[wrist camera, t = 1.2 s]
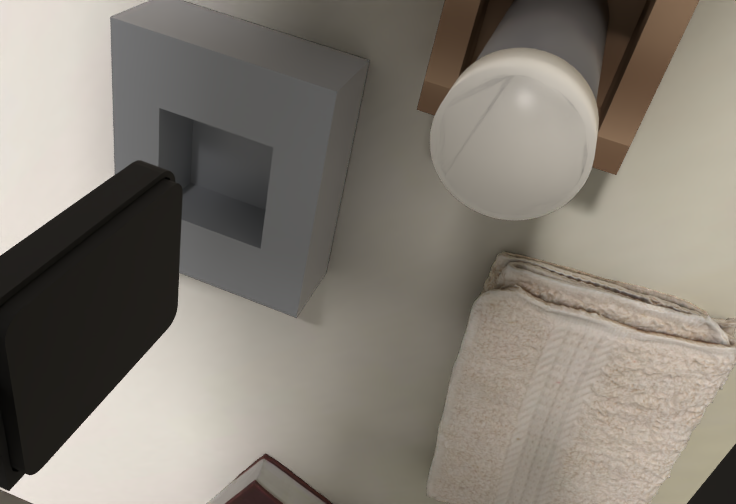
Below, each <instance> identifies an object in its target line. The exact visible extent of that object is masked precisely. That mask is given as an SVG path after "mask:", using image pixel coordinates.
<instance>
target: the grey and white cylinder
mask: <svg viewBox="0 0 736 504" xmlns="http://www.w3.org/2000/svg"><path fill="white" fill-rule="evenodd" d="M608 23H609V7H608V3H607V0H514V1H513V3H512V5H511V6H510V8H509V9H508V11H507V12H506V14H505V16H504V17H503V19H502V20H501V22H500V23H499V25H498V27H497V28H496V30H495V31H494V33H493V34H492V36H491V38H490V39H489V41H488V42H487V44H486V45H485V47H484V49H483V50H482V52H481V53H480V55H479V56H478V58H477V60H476V61H475V62H474V63H473V64H471V65H470V66H469V67H468V68H467V69H466V70H465V71H464V72H463V73H462V74H461V75H460V76H459V78H458V79H457V80H456V82H455V83H454V85H453V86H452V88H451V89H450V91H449V92H448V94H447V95H446V97H445V98H444V100H443V101H442V103H441V104H440V106H439V108H438V110H437V112H436V114H435V117H434V119H433V122H432V126H431V131H430V153H431V158H432V162H433V165H434V168H435V170H436V172H437V174H438V176H439V178H440V180H441V181H442V183H443V184H444V186H445V187H446V188H447V190H448V191H449V192H450V193H451V194H452V195H453V196H454V197H455V198H456V199H457V200H458V201H460V202H461V203H463V204H464V205H465V206H467V207H468V208H470V209H472V210H474V211H476V212H478V213H480V214H483V215H485V216H489V217H492V218H496V219H502V220H528V219H533V218H538V217H541V216H544V215H547V214H549V213H551V212H554V211H556V210H557V209H559V208H561V207H562V206H564V205H565V204H566V203H568V202H569V201H570V200H571V199H572V198H573V197H574V196H575V195H576V194H577V193H578V192H579V191H580V189H581V188H582V187H583V185H584V184H585V182H586V180H587V178H588V176H589V174H590V172H591V169H592V166H593V161H594V157H595V150H596V142H597V135H598V126H599V116H598V108H597V103H596V100H597V93H598V87H599V81H600V74H601V68H602V61H603V55H604V49H605V42H606V36H607V29H608Z"/></svg>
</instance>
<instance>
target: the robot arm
mask: <svg viewBox="0 0 736 504" xmlns="http://www.w3.org/2000/svg"><path fill="white" fill-rule="evenodd" d="M182 198H183V190H182V186H181V185H180V184H179V183H176V182H175V176H174V174H173V173H172V172H171V171H169V170H166V169H163V168H161V167H158V166H155V165H152V164H150V163H147V162H144V161H141V160H137V161H135V162H133V163H131V164H130V165H128V166H127V167H125V168H124V169H123V170H121V171H120V172H118V173H117V174H116V175H114V176H113V177H111V178H110V179H108V180H107V181H106V182H104V183H103V184H101V185H100V186H98V187H97V188H96V189H94V190H93V191H91V192H90V193H89V194H87V195H86V196H84V197H83V198H81V199H80V200H79V201H77V202H76V203H74V204H73V205H72V206H70V207H69V208H67V209H66V210H64V211H63V212H62V213H60V214H59V215H57V216H56V217H55V218H53V219H52V220H50V221H49V222H47V223H46V224H45V225H43V226H42V227H40V228H39V229H38V230H36V231H35V232H33V233H32V234H30V235H29V236H28V237H26V238H25V239H23V240H22V241H21V242H19V243H18V244H16V245H15V246H13V247H12V248H11V249H9V250H8V251H6V252H5V253H4V254H2V255H1V256H0V487H1V488H3V489H6V490H8V491H10V489H11V488H12V487H13V486H14V485H15V484H16V483H17V482H18V481H19V480H20V479H21V477H22V476H23V475H24V474H25V473H26V474H28V475H33V474H35V473H37V472H38V471H39V470H40V469H41V468H42V467H43V466H44V465H45V464H46V463H47V462H48V461H49V460H50V459H51V457H52V456H53V455H54V454H55V453H56V452H57V451H58V450H59V449H60V447H61V446H62V445H63V444H64V443H65V442H66V441H67V440H68V439H69V438H70V436H71V435H72V434H73V433H74V432H75V431H76V430H77V429H78V428H79V426H80V425H81V424H82V423H83V422H84V421H85V420H86V419H87V418H88V416H89V415H90V414H91V413H92V412H93V411H94V410H95V409H96V408H97V406H98V405H99V404H100V403H101V402H102V401H103V400H104V399H105V398H106V396H107V395H108V394H109V393H110V392H111V391H112V390H113V389H114V388H115V387H116V385H117V384H118V383H119V382H120V381H121V380H122V379H123V378H124V377H125V375H126V374H127V373H128V372H129V371H130V370H131V369H132V368H133V367H134V365H135V364H136V363H137V362H138V361H139V360H140V359H141V358H142V357H143V355H144V354H145V353H146V352H147V351H148V350H149V349H150V348H151V347H152V346H153V344H154V343H155V342H156V341H157V340H158V339H159V338H160V337H161V336H162V334H163V333H164V332H165V331H166V330H167V329H168V328H169V326H170V325H171V323H172V322H173V320H174V318H175V315H176V312H177V307H178V286H179V264H180V242H181V220H182ZM0 504H32V503H30V502H28V501H25V500H23V499H21V498H18V497H16V496H14V495H11V494H9V493H7V492H4V491H2V490H0ZM687 504H736V444H735V445H734V446H733V448H732V449H731V450H730V451H729V453H728V454H727V455H726V456H725V457H724V459H723V460H722V461H721V462H720V464H719V465H718V466H717V467H716V469H715V470H714V471H713V472H712V473H711V475H710V476H709V477H708V478H707V480H706V481H705V482H704V483H703V484H702V486H701V487H700V488H699V489H698V491H697V492H696V493H695V494H694V496H693V497H692V498H691V499H690V500H689V502H688V503H687Z"/></svg>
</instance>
